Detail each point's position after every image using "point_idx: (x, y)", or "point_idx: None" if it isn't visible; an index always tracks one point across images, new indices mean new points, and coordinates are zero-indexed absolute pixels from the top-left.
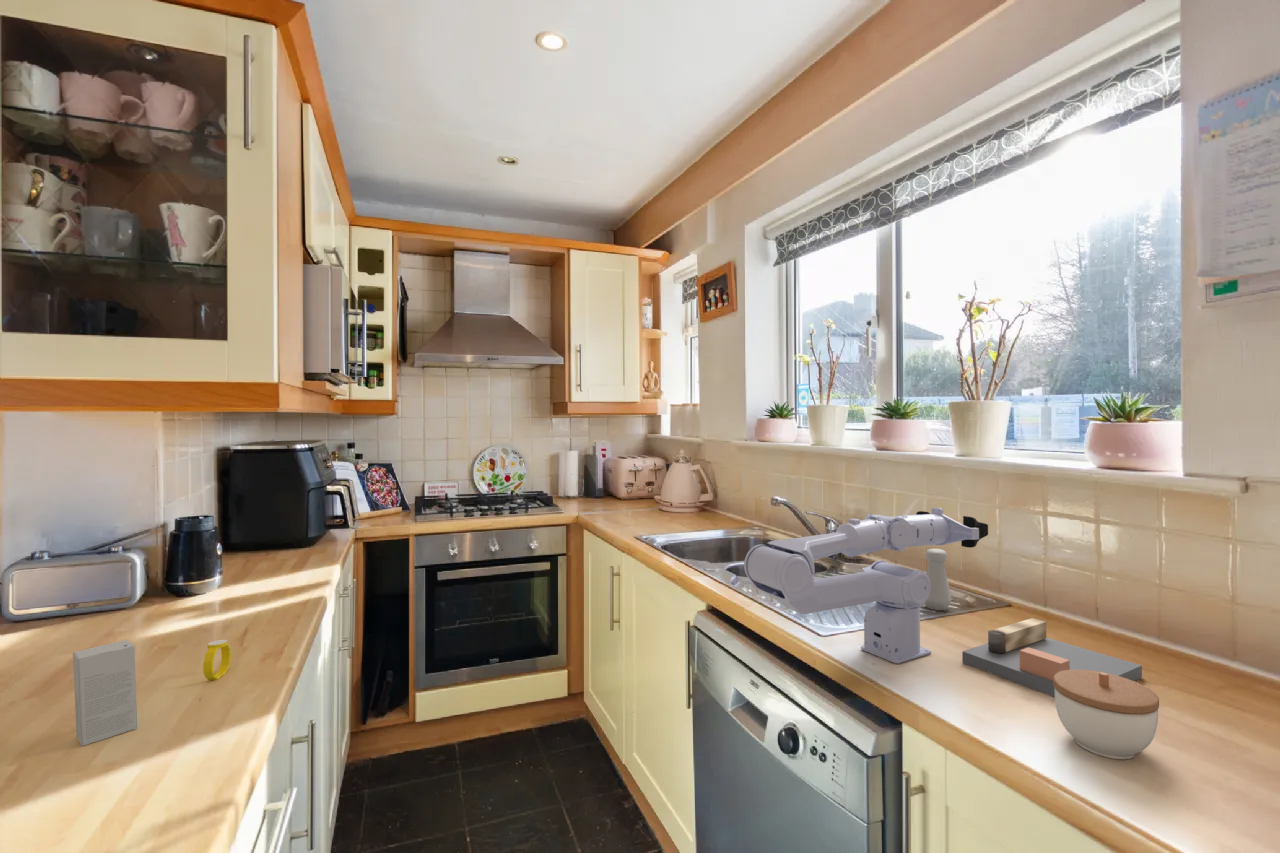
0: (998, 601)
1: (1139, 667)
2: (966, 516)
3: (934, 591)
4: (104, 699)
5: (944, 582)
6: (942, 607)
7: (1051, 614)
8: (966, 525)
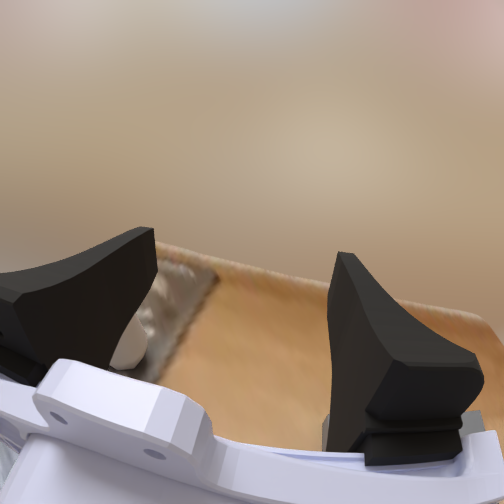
0: (197, 271)
1: (481, 417)
2: (436, 367)
3: (117, 349)
4: None
5: (131, 323)
6: (137, 362)
7: (276, 280)
8: (402, 418)
